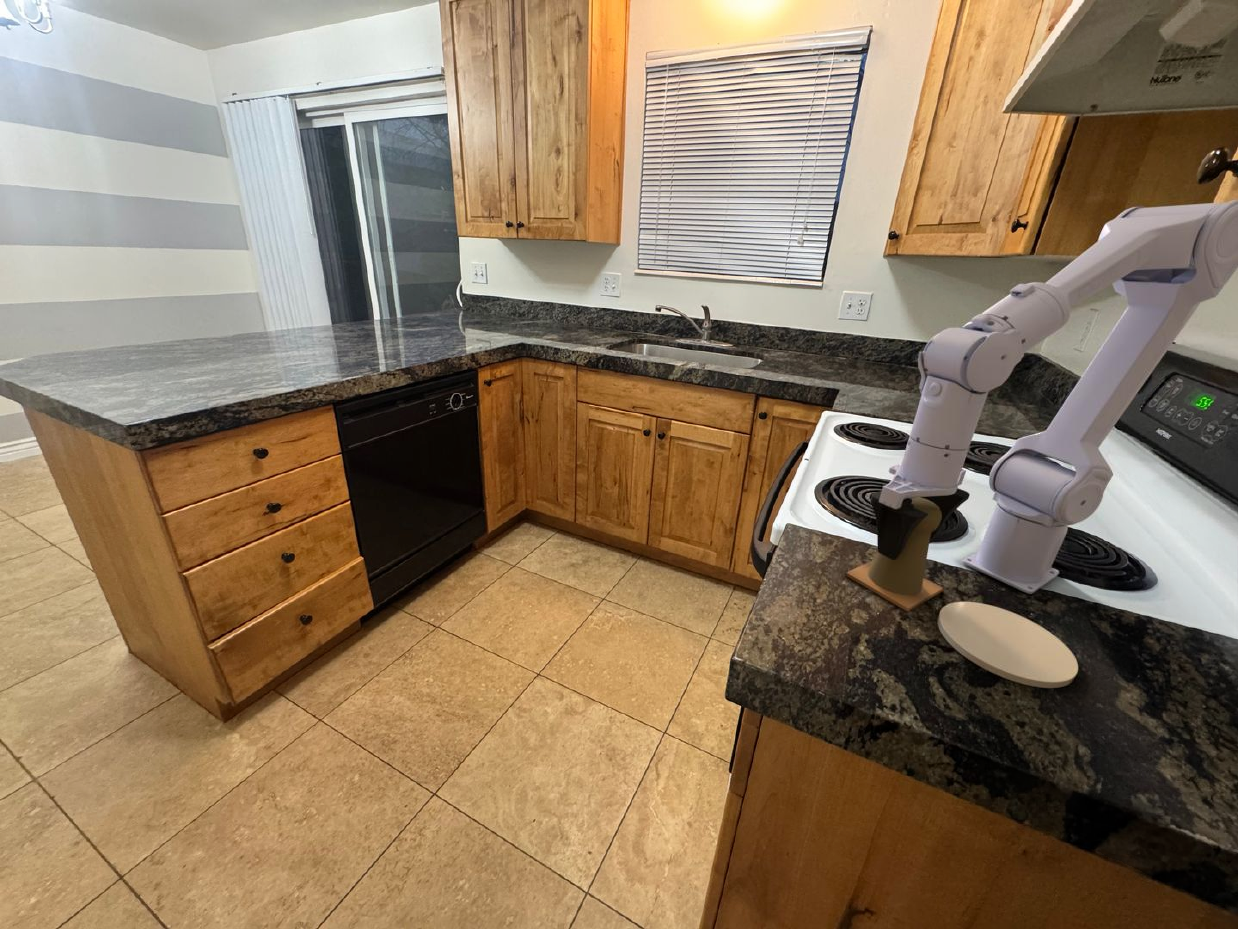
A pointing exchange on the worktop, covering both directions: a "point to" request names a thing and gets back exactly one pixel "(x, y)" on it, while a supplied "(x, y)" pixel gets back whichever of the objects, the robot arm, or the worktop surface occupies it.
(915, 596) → the cork trivet
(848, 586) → the worktop surface
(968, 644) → the plate
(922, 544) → the pepper shaker
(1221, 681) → the worktop surface
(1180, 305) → the robot arm
